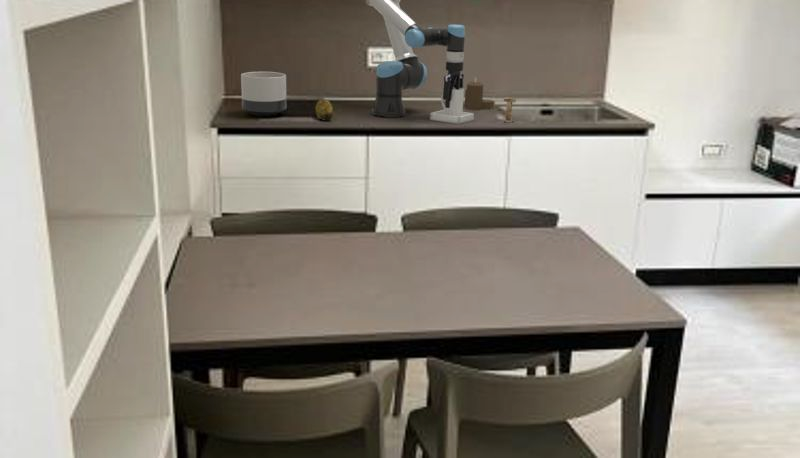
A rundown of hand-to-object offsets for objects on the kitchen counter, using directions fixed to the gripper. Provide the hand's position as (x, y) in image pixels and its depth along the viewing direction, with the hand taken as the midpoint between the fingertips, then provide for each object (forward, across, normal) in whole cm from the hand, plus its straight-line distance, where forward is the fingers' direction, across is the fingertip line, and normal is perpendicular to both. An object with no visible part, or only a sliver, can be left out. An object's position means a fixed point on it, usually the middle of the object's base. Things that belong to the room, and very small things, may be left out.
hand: (452, 113), depth 350 cm
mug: (+1, -1, 0) cm, 1 cm away
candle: (+3, +36, +7) cm, 36 cm away
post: (+3, +14, -21) cm, 25 cm away
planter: (+3, -48, +68) cm, 83 cm away
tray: (+3, 0, 0) cm, 3 cm away
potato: (+3, -37, +43) cm, 57 cm away
